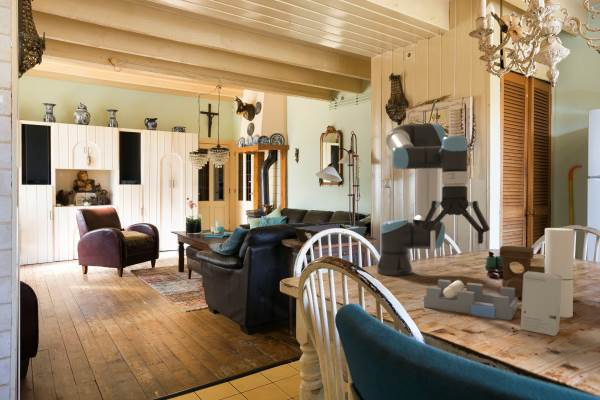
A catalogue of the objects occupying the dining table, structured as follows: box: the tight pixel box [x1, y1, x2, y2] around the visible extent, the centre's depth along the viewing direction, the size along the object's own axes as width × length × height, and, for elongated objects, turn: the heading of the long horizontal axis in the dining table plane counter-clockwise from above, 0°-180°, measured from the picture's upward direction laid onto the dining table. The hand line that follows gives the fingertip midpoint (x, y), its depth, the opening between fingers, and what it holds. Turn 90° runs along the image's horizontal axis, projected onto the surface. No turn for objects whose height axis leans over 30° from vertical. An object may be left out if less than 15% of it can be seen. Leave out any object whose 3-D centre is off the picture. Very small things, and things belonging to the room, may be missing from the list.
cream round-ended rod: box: [443, 279, 465, 299], centre depth 132 cm, size 4×14×4 cm, turn 146°
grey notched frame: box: [423, 279, 519, 321], centre depth 129 cm, size 25×15×6 cm, turn 56°
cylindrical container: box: [544, 227, 575, 318], centre depth 122 cm, size 7×7×25 cm
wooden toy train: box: [499, 245, 545, 299], centre depth 141 cm, size 20×11×17 cm, turn 58°
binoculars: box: [484, 250, 504, 280], centre depth 172 cm, size 9×11×10 cm
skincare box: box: [520, 271, 562, 337], centre depth 108 cm, size 8×6×15 cm
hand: (454, 252), depth 132 cm, fingers open, 13 cm apart
